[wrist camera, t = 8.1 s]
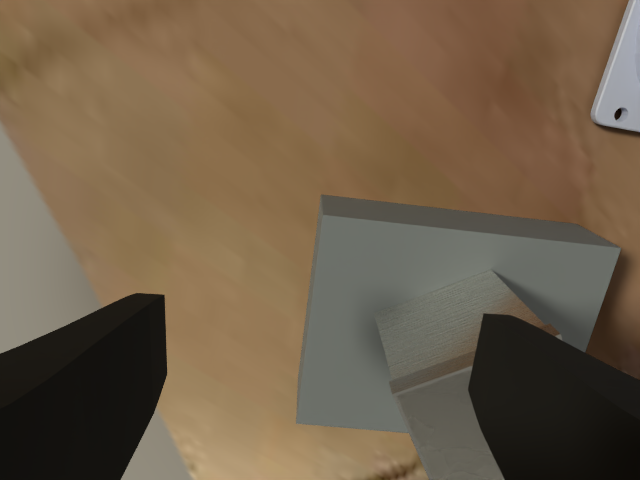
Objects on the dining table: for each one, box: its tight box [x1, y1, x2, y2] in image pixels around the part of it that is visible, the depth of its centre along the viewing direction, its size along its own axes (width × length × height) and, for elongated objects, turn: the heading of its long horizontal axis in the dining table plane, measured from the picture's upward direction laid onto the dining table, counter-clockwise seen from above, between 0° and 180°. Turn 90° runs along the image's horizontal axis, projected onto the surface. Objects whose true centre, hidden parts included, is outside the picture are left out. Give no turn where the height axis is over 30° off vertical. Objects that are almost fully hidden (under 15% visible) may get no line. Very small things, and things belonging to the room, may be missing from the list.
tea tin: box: [374, 269, 563, 480], centre depth 16 cm, size 5×5×5 cm
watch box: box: [296, 195, 621, 433], centre depth 20 cm, size 11×9×4 cm
